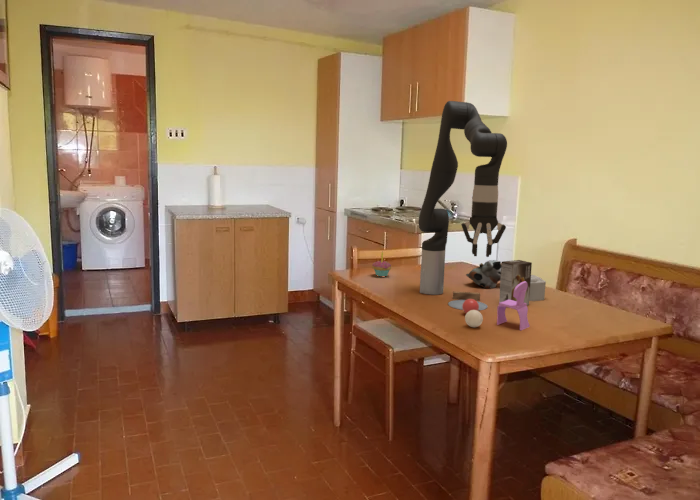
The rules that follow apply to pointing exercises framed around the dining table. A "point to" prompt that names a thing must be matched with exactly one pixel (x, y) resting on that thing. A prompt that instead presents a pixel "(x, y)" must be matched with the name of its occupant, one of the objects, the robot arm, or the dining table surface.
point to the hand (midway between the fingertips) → (481, 255)
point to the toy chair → (515, 306)
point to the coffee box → (514, 279)
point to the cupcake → (381, 267)
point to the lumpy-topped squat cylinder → (537, 288)
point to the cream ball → (473, 318)
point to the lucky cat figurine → (486, 274)
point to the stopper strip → (466, 295)
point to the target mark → (459, 304)
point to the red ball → (470, 305)
